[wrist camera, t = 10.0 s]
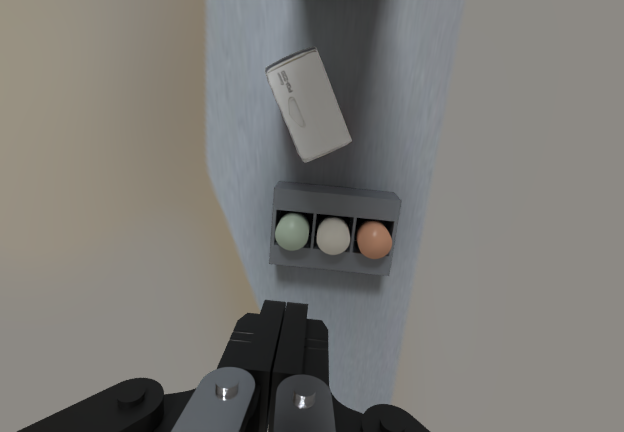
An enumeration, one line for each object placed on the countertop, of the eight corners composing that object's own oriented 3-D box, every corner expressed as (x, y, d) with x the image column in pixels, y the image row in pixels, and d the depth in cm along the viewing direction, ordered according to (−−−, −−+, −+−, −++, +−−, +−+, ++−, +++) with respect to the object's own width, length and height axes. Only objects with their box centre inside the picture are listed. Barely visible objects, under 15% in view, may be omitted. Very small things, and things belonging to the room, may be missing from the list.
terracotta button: (358, 218, 41) (360, 225, 38) (389, 221, 41) (394, 229, 38) (354, 247, 42) (356, 257, 39) (385, 250, 41) (389, 260, 39)
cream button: (318, 214, 41) (318, 221, 38) (350, 217, 41) (352, 224, 38) (315, 243, 42) (315, 253, 39) (346, 246, 42) (348, 256, 39)
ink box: (346, 137, 42) (354, 144, 30) (306, 154, 42) (299, 167, 31) (317, 64, 40) (314, 42, 28) (276, 83, 40) (257, 68, 29)
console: (279, 181, 43) (274, 188, 39) (393, 192, 43) (401, 200, 39) (274, 250, 46) (269, 263, 41) (383, 261, 46) (389, 276, 41)
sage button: (279, 210, 41) (276, 217, 38) (310, 213, 41) (309, 220, 38) (277, 239, 42) (273, 248, 39) (308, 243, 42) (306, 252, 39)
